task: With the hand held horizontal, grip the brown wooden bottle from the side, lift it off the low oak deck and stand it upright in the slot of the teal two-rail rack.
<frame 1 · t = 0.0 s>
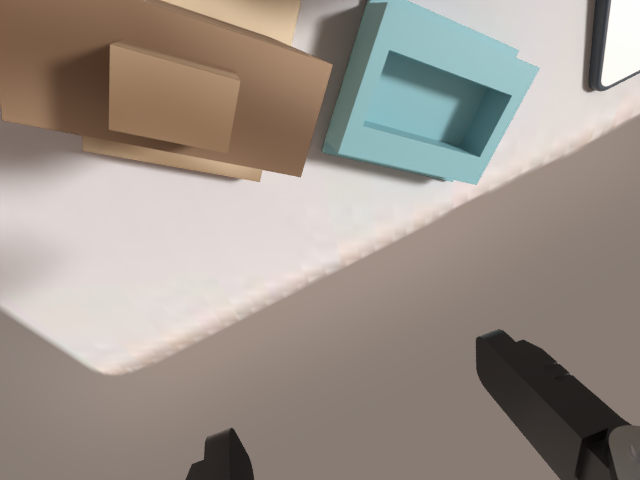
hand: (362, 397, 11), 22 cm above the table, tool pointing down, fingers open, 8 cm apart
teal rack: (417, 100, 30), on the table
brown wooden bottle: (192, 48, 22), point 2 cm above the table, touching oak deck
oak deck: (193, 45, 24), on the table
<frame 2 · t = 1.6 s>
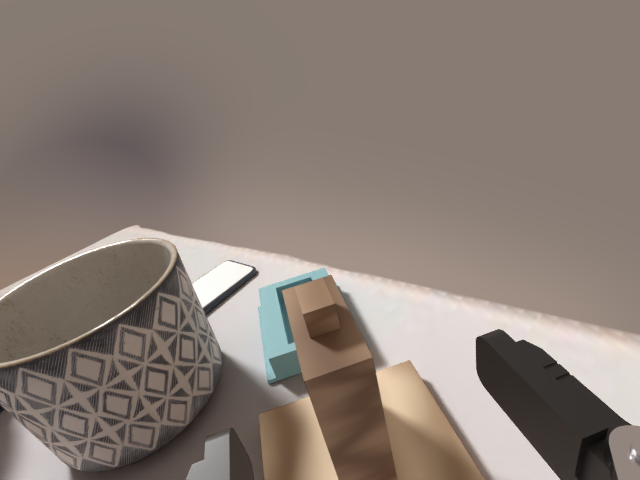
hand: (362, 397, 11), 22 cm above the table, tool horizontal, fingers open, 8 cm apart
teal rack: (307, 327, 46), on the table
brown wooden bottle: (355, 442, 30), point 2 cm above the table, touching oak deck
planter: (152, 398, 42), on the table
phone case: (210, 295, 59), on the table
oak deck: (358, 455, 31), on the table
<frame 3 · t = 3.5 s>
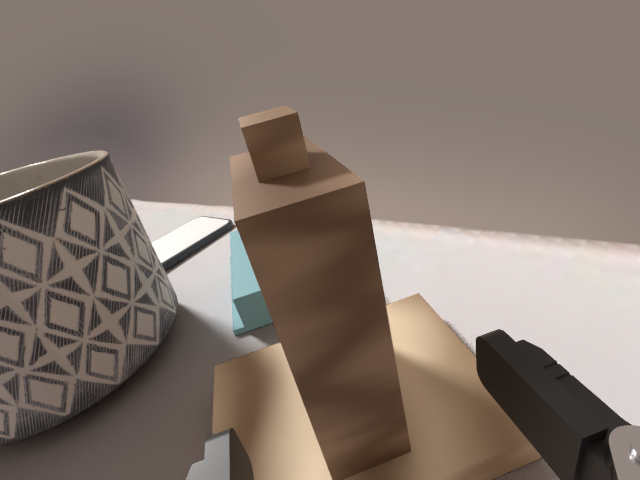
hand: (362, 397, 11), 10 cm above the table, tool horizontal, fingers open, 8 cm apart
teal rack: (288, 273, 37), on the table
brown wooden bottle: (344, 392, 21), point 2 cm above the table, touching oak deck
planter: (87, 360, 33), on the table
phone case: (178, 252, 50), on the table
oak deck: (350, 413, 22), on the table
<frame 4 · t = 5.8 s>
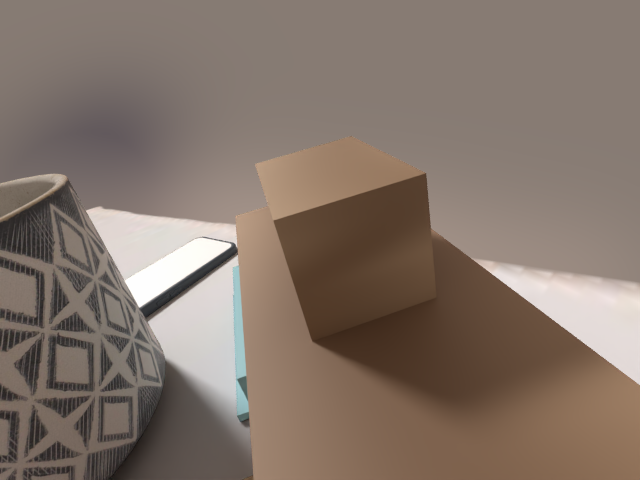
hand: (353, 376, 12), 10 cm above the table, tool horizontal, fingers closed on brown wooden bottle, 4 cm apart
teal rack: (306, 324, 30), on the table
planter: (47, 445, 25), on the table
phone case: (172, 282, 43), on the table
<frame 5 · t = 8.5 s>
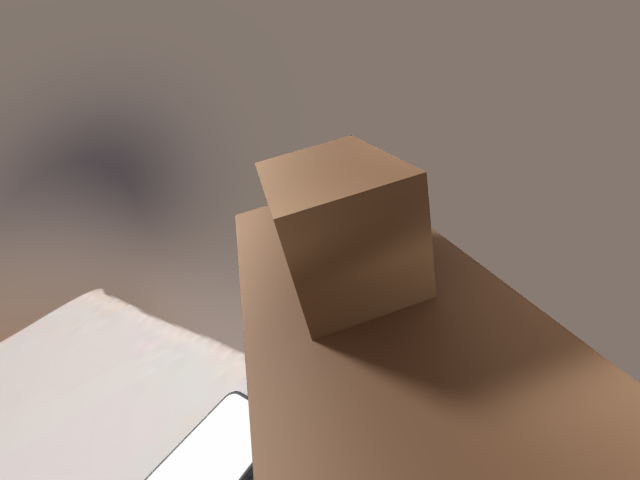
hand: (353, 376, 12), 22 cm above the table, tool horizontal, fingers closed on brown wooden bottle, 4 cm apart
when the fingers open (10 cm above the table, at t = 11.1 s): brown wooden bottle drops 1 cm, resting on teal rack.
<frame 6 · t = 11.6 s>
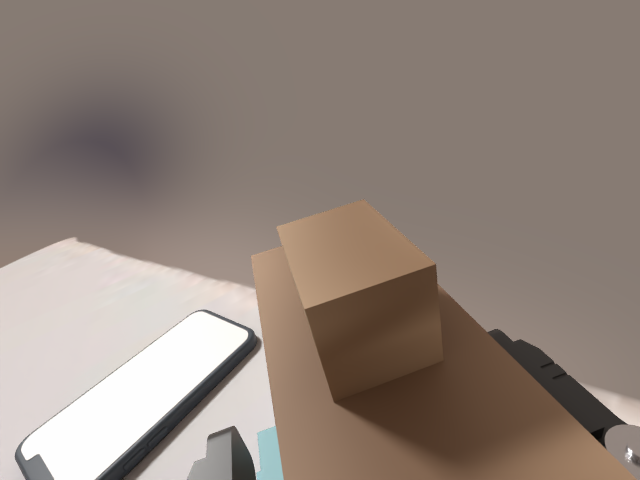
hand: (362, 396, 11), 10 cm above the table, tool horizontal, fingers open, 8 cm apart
phone case: (156, 398, 27), on the table
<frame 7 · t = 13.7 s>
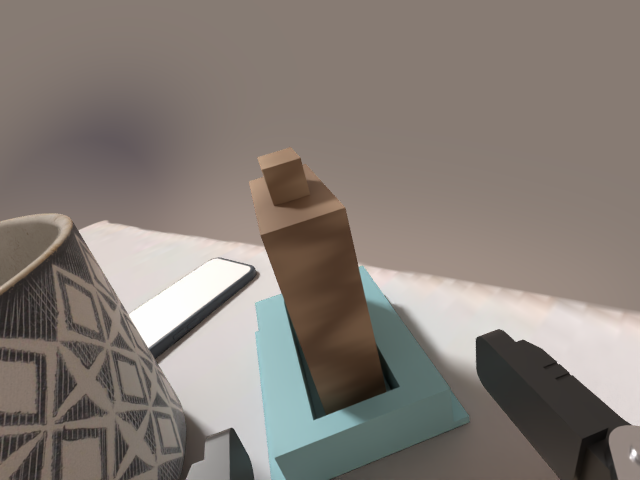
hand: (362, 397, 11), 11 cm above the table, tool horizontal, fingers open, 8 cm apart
teal rack: (341, 370, 26), on the table
brown wooden bottle: (340, 364, 26), point 1 cm above the table, touching teal rack
phone case: (188, 309, 40), on the table
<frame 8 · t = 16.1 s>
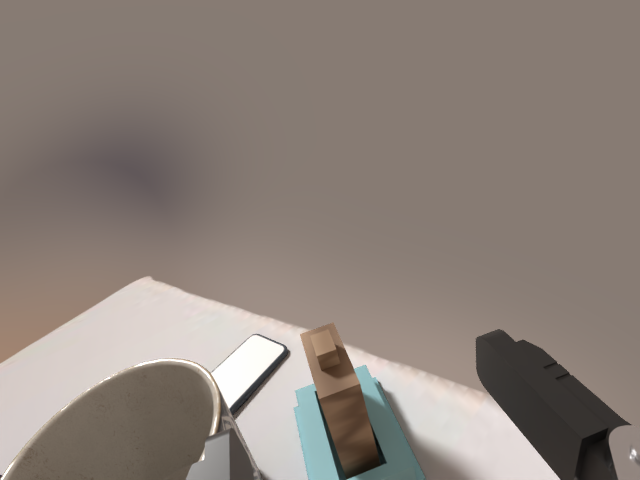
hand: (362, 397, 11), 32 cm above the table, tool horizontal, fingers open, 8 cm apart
teal rack: (352, 441, 43), on the table
brown wooden bottle: (351, 437, 42), point 1 cm above the table, touching teal rack
phone case: (240, 379, 56), on the table
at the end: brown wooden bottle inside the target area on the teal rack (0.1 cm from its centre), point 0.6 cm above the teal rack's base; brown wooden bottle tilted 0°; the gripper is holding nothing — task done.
